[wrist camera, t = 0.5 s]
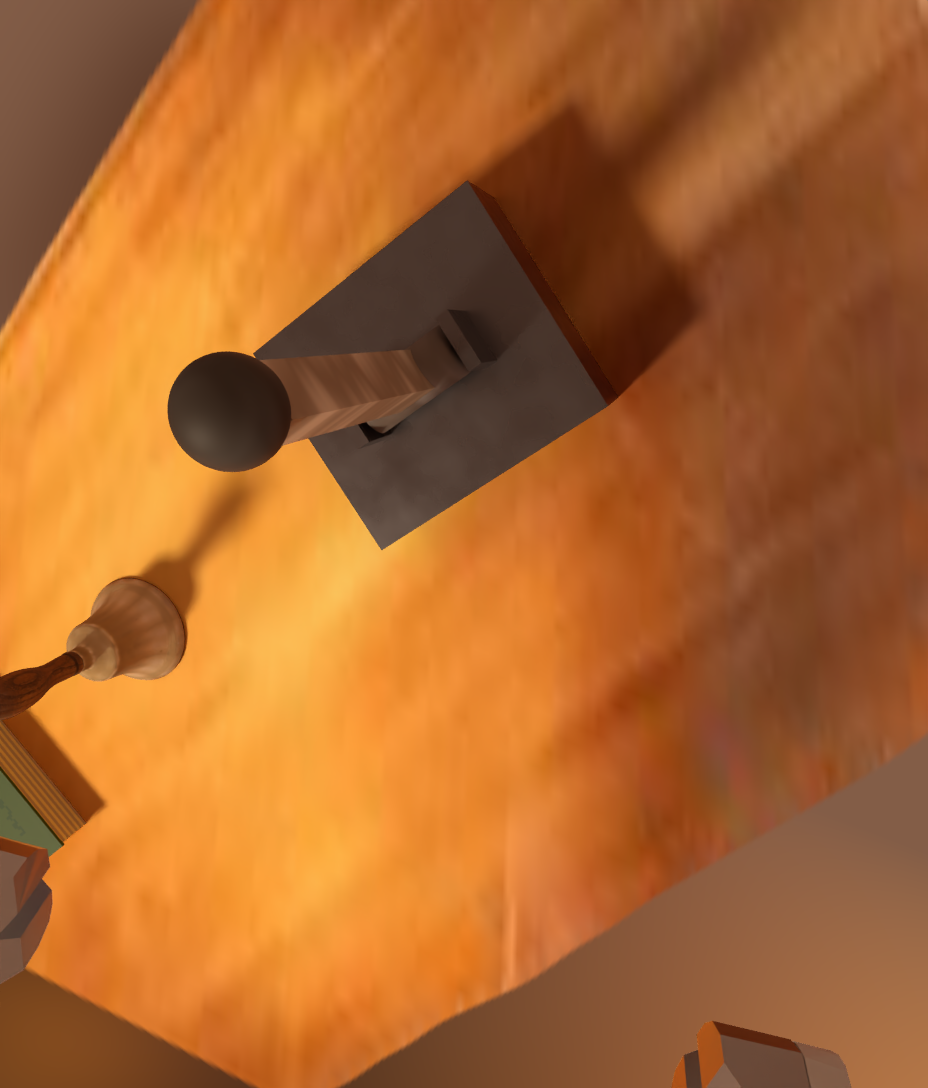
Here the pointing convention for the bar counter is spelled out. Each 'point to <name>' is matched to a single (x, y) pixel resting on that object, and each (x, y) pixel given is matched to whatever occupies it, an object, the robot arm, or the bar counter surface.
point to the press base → (483, 346)
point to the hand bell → (107, 645)
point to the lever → (301, 398)
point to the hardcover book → (31, 800)
